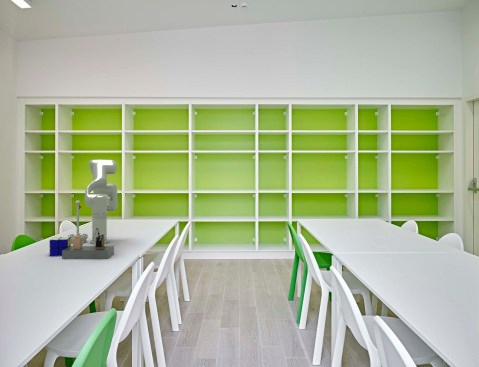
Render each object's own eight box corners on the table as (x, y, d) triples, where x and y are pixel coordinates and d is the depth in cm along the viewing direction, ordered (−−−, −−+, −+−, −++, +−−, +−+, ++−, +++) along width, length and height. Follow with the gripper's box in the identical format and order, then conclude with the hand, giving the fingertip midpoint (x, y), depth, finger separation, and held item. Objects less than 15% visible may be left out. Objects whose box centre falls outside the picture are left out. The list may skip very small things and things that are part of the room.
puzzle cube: (49, 256, 209) (49, 239, 209) (53, 252, 219) (53, 236, 218) (67, 255, 212) (67, 239, 211) (71, 252, 221) (71, 236, 221)
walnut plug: (97, 253, 213) (97, 235, 212) (104, 253, 213) (104, 235, 213) (95, 255, 209) (95, 236, 208) (102, 255, 209) (102, 236, 209)
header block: (70, 254, 216) (70, 245, 215) (114, 254, 217) (114, 246, 217) (62, 258, 204) (62, 250, 203) (108, 258, 205) (108, 250, 205)
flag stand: (82, 244, 243) (82, 201, 242) (64, 244, 243) (63, 201, 242) (91, 240, 256) (91, 199, 255) (73, 240, 256) (73, 199, 255)
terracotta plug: (75, 253, 212) (75, 235, 211) (82, 253, 212) (82, 235, 212) (72, 255, 208) (72, 236, 207) (79, 255, 208) (79, 236, 208)
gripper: (98, 214, 218) (98, 243, 219) (88, 217, 201) (88, 249, 202) (110, 214, 219) (110, 243, 219) (102, 217, 202) (101, 249, 203)
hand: (100, 245), depth 211 cm, fingers closed on walnut plug, 4 cm apart
